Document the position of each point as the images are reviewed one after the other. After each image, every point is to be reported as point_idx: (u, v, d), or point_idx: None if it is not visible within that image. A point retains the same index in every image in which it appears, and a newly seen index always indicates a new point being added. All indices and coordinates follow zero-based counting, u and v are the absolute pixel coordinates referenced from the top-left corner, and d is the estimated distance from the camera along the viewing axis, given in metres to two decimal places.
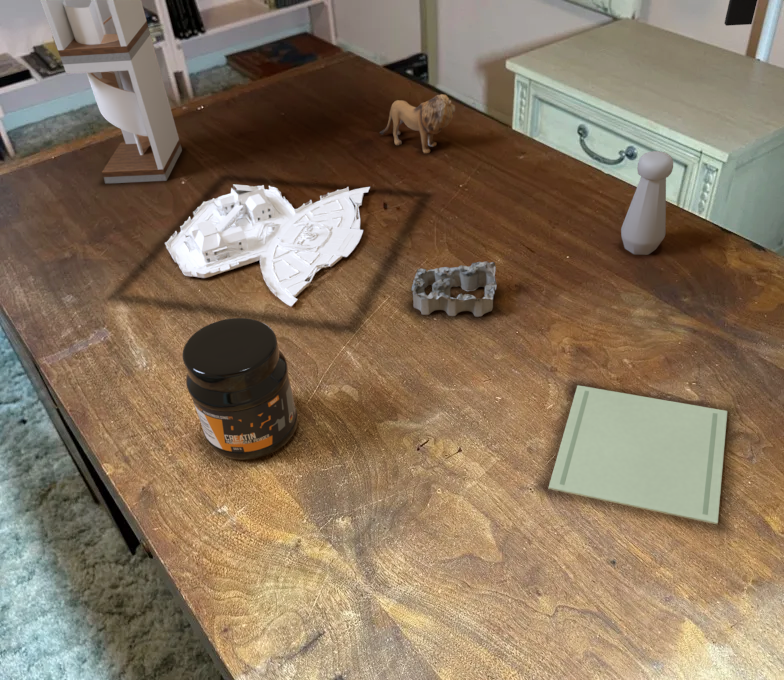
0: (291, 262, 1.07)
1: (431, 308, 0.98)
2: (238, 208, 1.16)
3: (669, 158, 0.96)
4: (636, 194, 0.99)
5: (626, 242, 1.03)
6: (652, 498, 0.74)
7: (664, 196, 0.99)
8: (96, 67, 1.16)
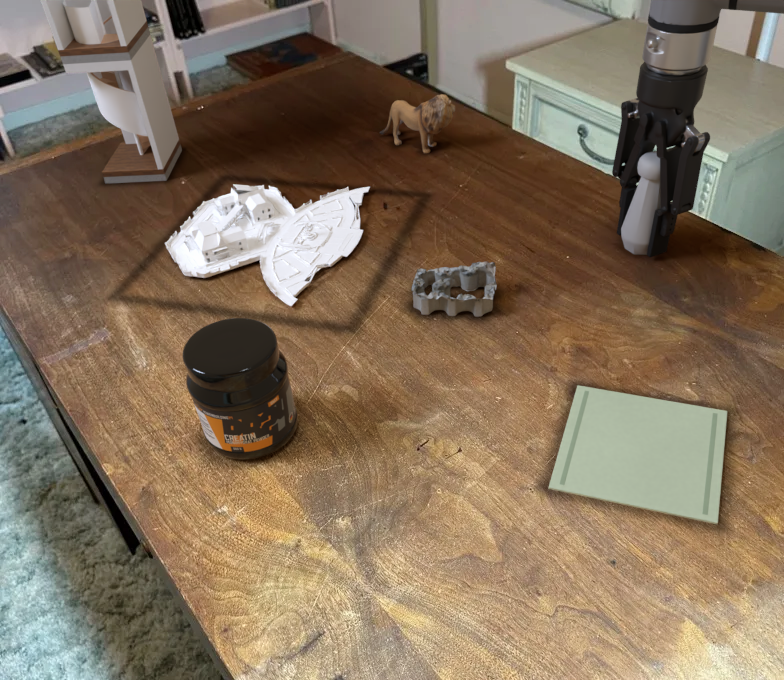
0: (291, 262, 1.07)
1: (431, 308, 0.98)
2: (238, 208, 1.16)
3: None
4: (636, 194, 0.99)
5: (626, 242, 1.03)
6: (652, 498, 0.74)
7: None
8: (96, 67, 1.16)
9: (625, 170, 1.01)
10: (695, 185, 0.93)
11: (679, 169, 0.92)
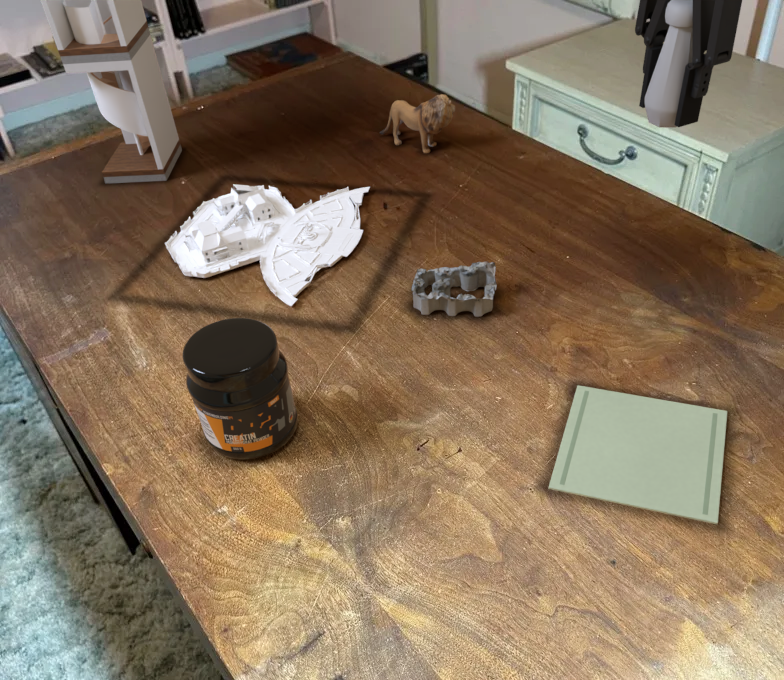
0: (291, 262, 1.07)
1: (431, 308, 0.98)
2: (238, 208, 1.16)
3: None
4: (663, 49, 0.85)
5: (650, 112, 0.89)
6: (652, 498, 0.74)
7: None
8: (96, 67, 1.16)
9: (650, 23, 0.86)
10: (734, 27, 0.79)
11: (716, 5, 0.77)
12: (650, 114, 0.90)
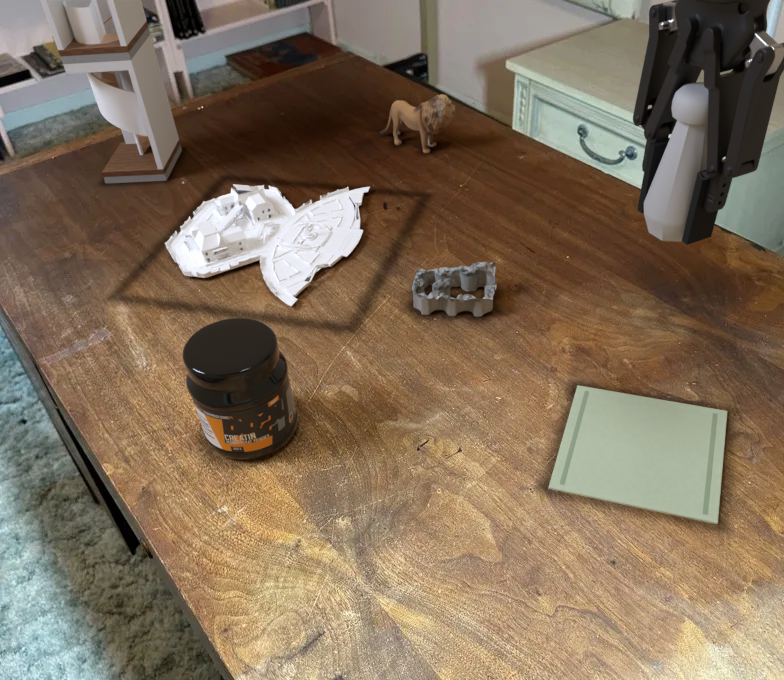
0: (291, 262, 1.07)
1: (431, 308, 0.98)
2: (238, 208, 1.16)
3: None
4: (668, 149, 0.66)
5: (651, 222, 0.70)
6: (652, 498, 0.74)
7: None
8: (96, 67, 1.16)
9: (653, 114, 0.67)
10: (763, 131, 0.60)
11: (740, 104, 0.58)
12: (651, 224, 0.71)
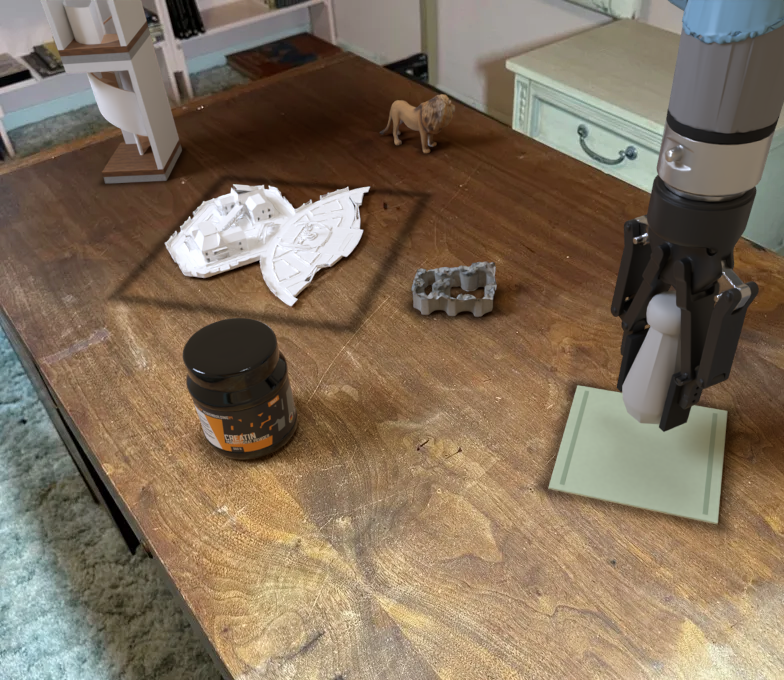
0: (291, 262, 1.07)
1: (431, 308, 0.98)
2: (238, 208, 1.16)
3: None
4: (644, 348, 0.69)
5: (629, 408, 0.73)
6: (652, 498, 0.74)
7: None
8: (96, 67, 1.16)
9: (629, 311, 0.71)
10: (733, 350, 0.63)
11: (710, 330, 0.62)
12: (629, 408, 0.74)
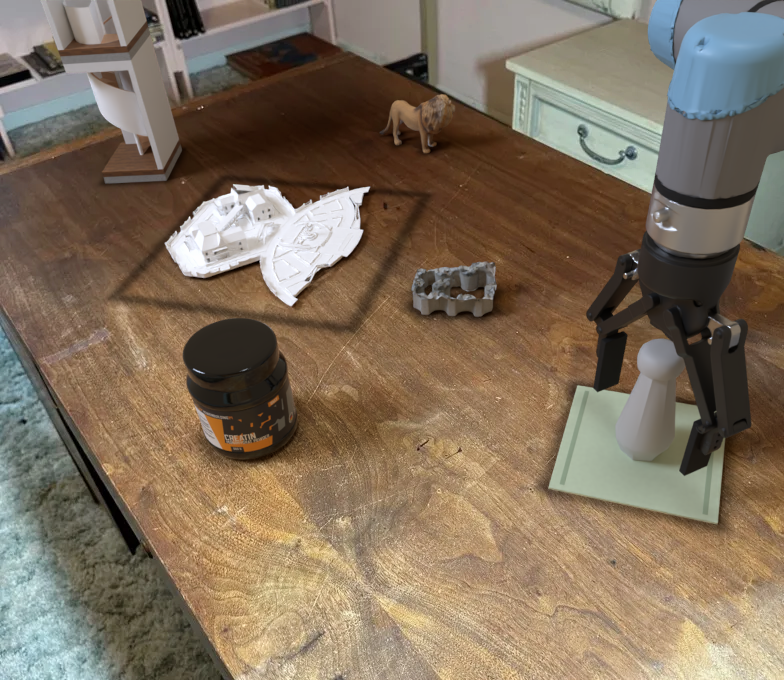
0: (291, 262, 1.07)
1: (431, 308, 0.98)
2: (238, 208, 1.16)
3: None
4: (635, 392, 0.73)
5: (622, 446, 0.77)
6: (652, 498, 0.74)
7: (674, 395, 0.73)
8: (96, 67, 1.16)
9: (607, 322, 0.75)
10: (745, 393, 0.64)
11: (714, 374, 0.63)
12: (622, 446, 0.78)
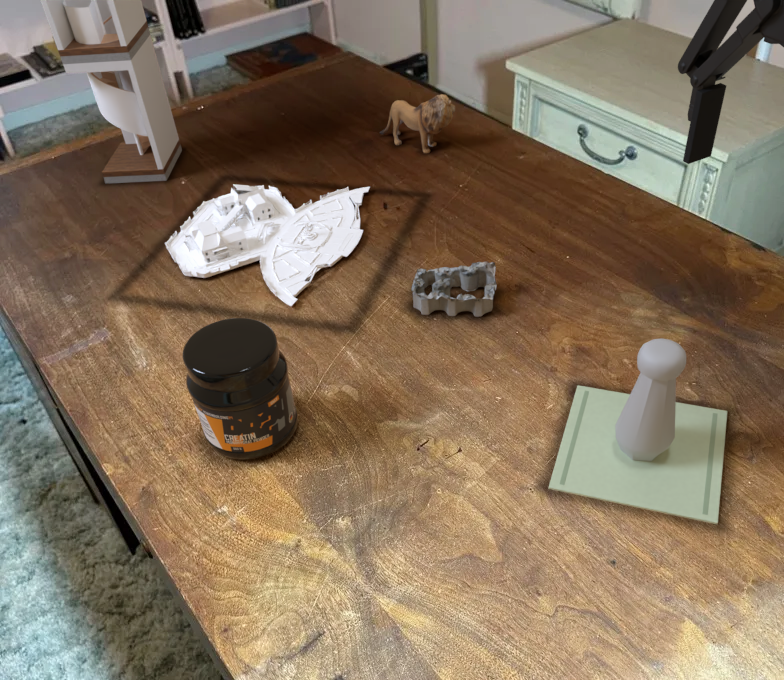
0: (291, 262, 1.07)
1: (431, 308, 0.98)
2: (238, 208, 1.16)
3: (681, 353, 0.69)
4: (635, 392, 0.73)
5: (622, 446, 0.77)
6: (652, 498, 0.74)
7: (674, 395, 0.73)
8: (96, 67, 1.16)
9: (705, 64, 0.66)
10: None
11: None
12: (622, 446, 0.78)
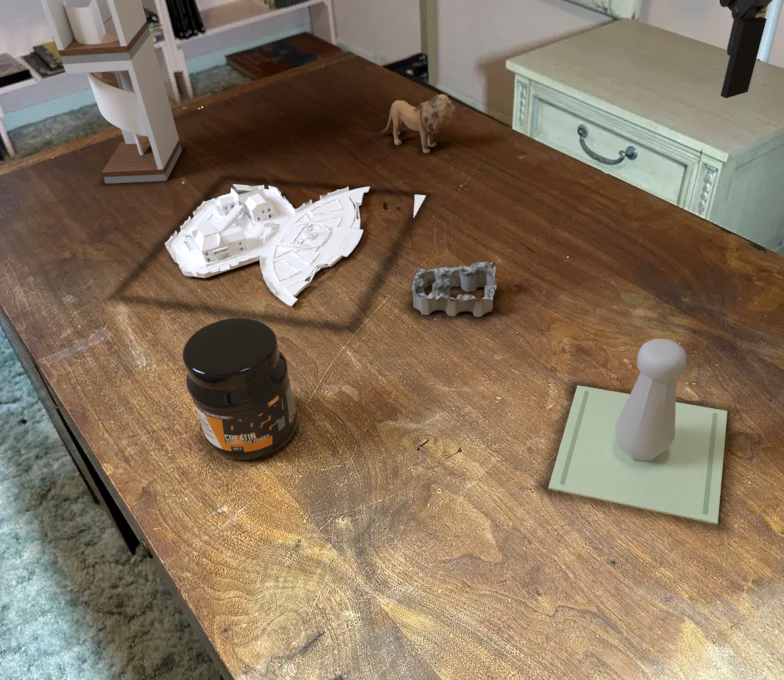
0: (291, 262, 1.07)
1: (431, 308, 0.98)
2: (238, 208, 1.16)
3: (681, 353, 0.69)
4: (635, 392, 0.73)
5: (622, 446, 0.77)
6: (652, 498, 0.74)
7: (674, 395, 0.73)
8: (96, 67, 1.16)
9: None
10: None
11: None
12: (622, 446, 0.78)
